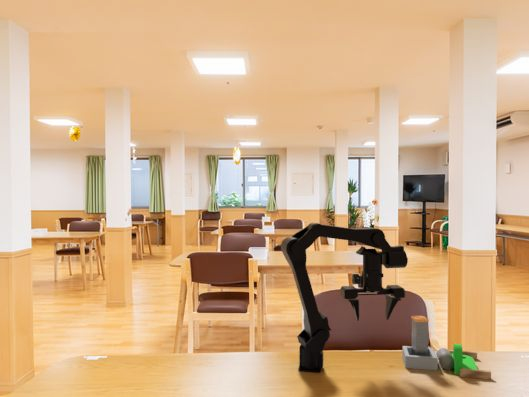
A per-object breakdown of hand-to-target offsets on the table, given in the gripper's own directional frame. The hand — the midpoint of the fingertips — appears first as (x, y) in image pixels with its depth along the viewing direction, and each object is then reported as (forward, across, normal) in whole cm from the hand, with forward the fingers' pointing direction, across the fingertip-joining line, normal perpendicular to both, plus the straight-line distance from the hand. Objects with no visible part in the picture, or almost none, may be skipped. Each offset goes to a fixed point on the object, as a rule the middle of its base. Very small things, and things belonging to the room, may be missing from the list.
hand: (372, 319), depth 137 cm
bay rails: (+13, -27, +6) cm, 31 cm away
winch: (+13, -16, +3) cm, 21 cm away
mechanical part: (+14, -26, +6) cm, 30 cm away
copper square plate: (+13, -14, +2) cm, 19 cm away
